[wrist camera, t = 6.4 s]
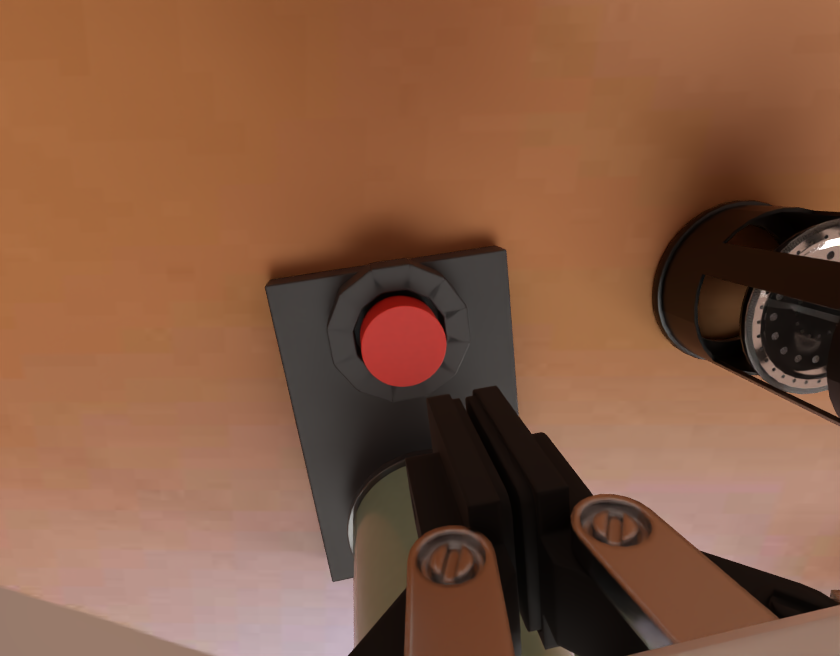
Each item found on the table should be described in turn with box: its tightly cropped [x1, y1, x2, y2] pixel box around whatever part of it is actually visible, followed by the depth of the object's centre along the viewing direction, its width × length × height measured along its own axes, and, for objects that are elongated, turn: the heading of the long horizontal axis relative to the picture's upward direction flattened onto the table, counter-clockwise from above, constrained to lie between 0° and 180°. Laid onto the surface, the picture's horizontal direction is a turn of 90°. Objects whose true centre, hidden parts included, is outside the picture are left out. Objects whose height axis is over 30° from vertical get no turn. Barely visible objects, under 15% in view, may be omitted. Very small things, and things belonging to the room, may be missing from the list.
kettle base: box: [265, 246, 519, 582], centre depth 27 cm, size 18×12×4 cm, turn 7°
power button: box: [360, 295, 446, 387], centre depth 23 cm, size 4×4×2 cm
